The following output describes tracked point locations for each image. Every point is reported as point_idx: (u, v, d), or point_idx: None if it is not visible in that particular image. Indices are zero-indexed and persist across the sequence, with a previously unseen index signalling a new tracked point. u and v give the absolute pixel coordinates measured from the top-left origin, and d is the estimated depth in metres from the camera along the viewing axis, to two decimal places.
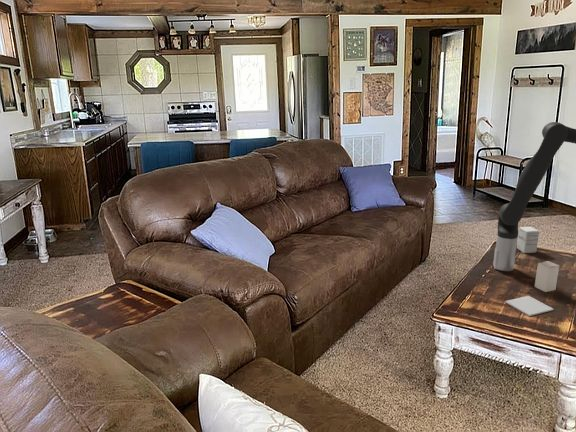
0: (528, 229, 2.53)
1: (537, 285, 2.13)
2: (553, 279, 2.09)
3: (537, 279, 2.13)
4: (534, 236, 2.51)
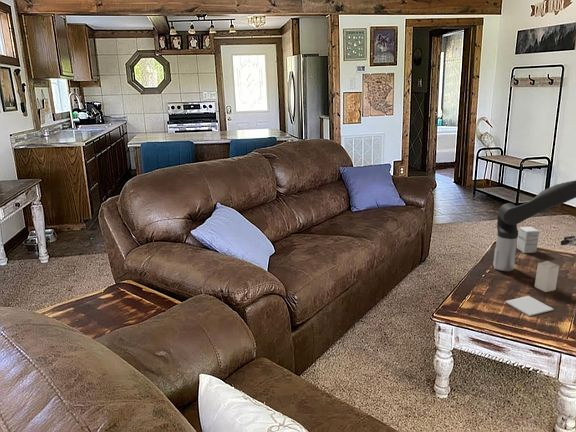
0: (528, 229, 2.53)
1: (537, 285, 2.13)
2: (553, 279, 2.09)
3: (537, 279, 2.13)
4: (534, 236, 2.51)
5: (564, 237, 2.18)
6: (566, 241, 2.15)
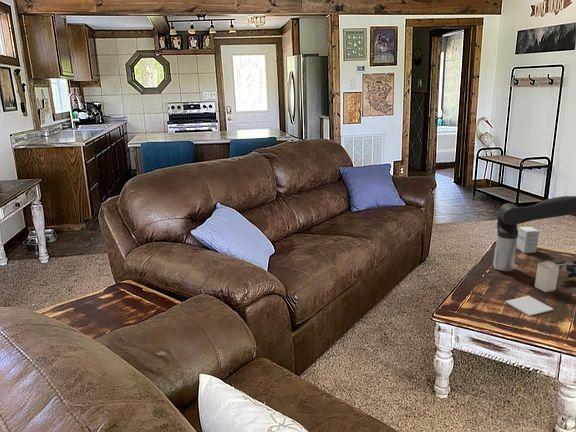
0: (528, 229, 2.53)
1: (537, 285, 2.13)
2: (553, 279, 2.09)
3: (537, 279, 2.13)
4: (534, 236, 2.51)
5: (555, 262, 2.21)
6: None
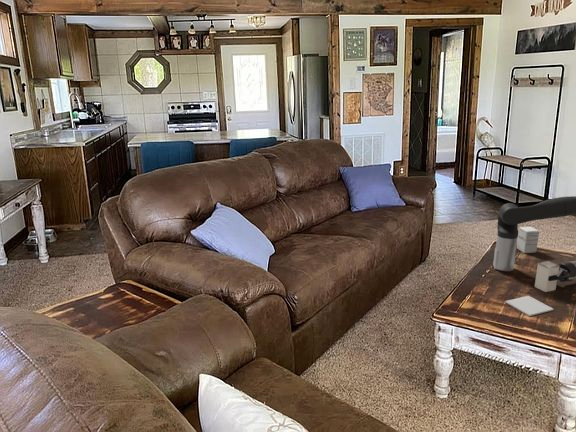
0: (528, 229, 2.53)
1: (537, 285, 2.13)
2: None
3: (537, 279, 2.13)
4: (534, 236, 2.51)
5: None
6: None
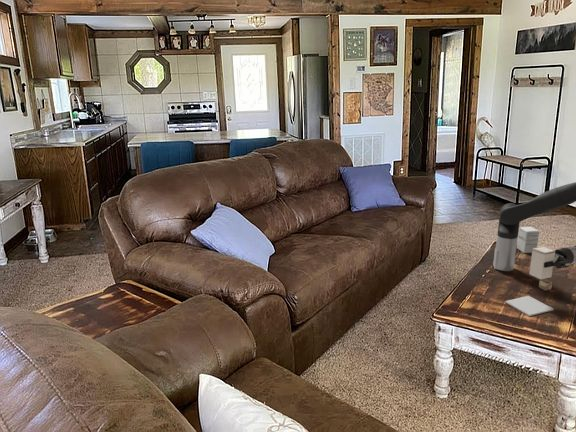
0: (528, 229, 2.53)
1: (532, 272, 2.00)
2: None
3: (532, 266, 2.00)
4: (534, 236, 2.51)
5: None
6: None
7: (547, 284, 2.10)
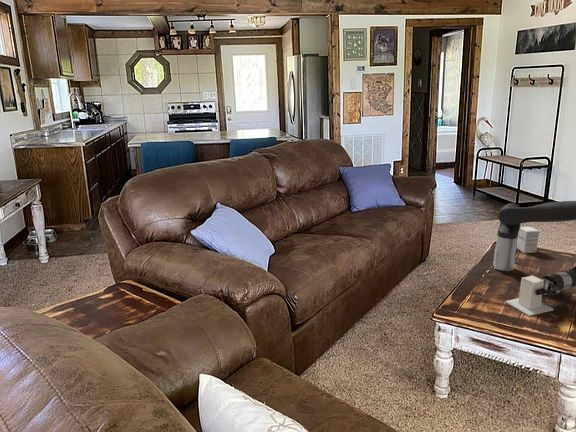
0: (528, 229, 2.53)
1: (521, 301, 1.98)
2: (538, 295, 1.94)
3: (521, 295, 1.97)
4: (534, 236, 2.51)
5: None
6: None
7: None
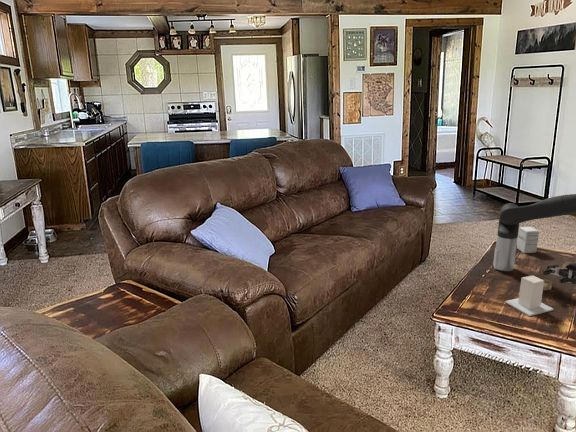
0: (528, 229, 2.53)
1: (521, 301, 1.98)
2: (538, 295, 1.94)
3: (521, 295, 1.97)
4: (534, 236, 2.51)
5: (547, 266, 2.07)
6: (549, 271, 2.04)
7: (547, 284, 2.10)
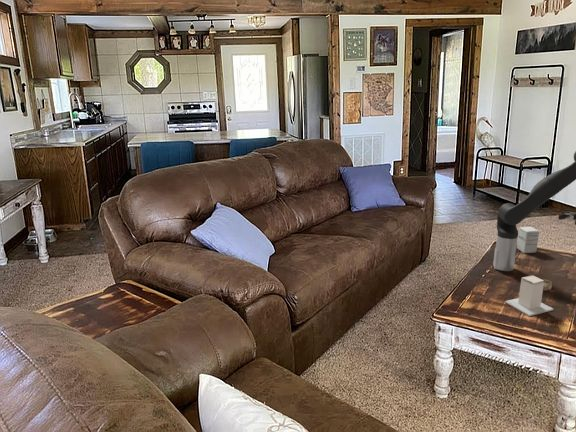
0: (528, 229, 2.53)
1: (521, 301, 1.98)
2: (538, 295, 1.94)
3: (521, 295, 1.97)
4: (534, 236, 2.51)
5: (562, 212, 2.19)
6: (564, 215, 2.16)
7: (547, 284, 2.10)
